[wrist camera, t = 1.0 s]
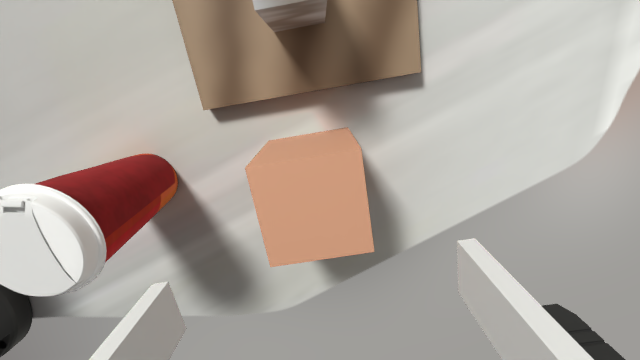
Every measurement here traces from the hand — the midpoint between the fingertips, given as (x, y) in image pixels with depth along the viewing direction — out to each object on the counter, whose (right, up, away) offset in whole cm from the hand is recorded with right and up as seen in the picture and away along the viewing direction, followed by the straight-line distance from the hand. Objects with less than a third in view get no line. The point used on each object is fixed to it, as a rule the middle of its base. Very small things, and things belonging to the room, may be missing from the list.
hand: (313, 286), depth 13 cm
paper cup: (-17, +5, +18) cm, 25 cm away
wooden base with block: (-2, +20, +12) cm, 24 cm away
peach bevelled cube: (0, +6, +17) cm, 18 cm away
